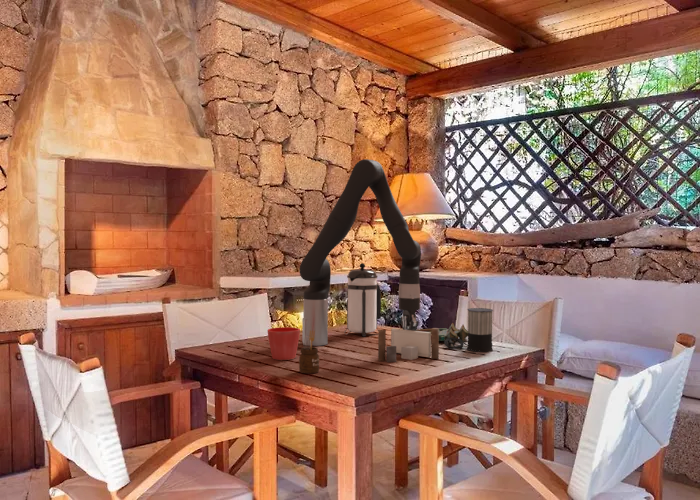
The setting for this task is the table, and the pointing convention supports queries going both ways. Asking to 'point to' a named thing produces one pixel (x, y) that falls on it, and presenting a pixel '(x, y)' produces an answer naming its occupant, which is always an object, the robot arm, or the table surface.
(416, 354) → the block
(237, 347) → the table surface
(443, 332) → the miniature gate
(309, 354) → the jar with wooden spoon
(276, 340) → the flower pot
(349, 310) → the coffee press
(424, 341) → the panel
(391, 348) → the gate posts
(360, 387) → the table surface
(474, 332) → the milk frother
